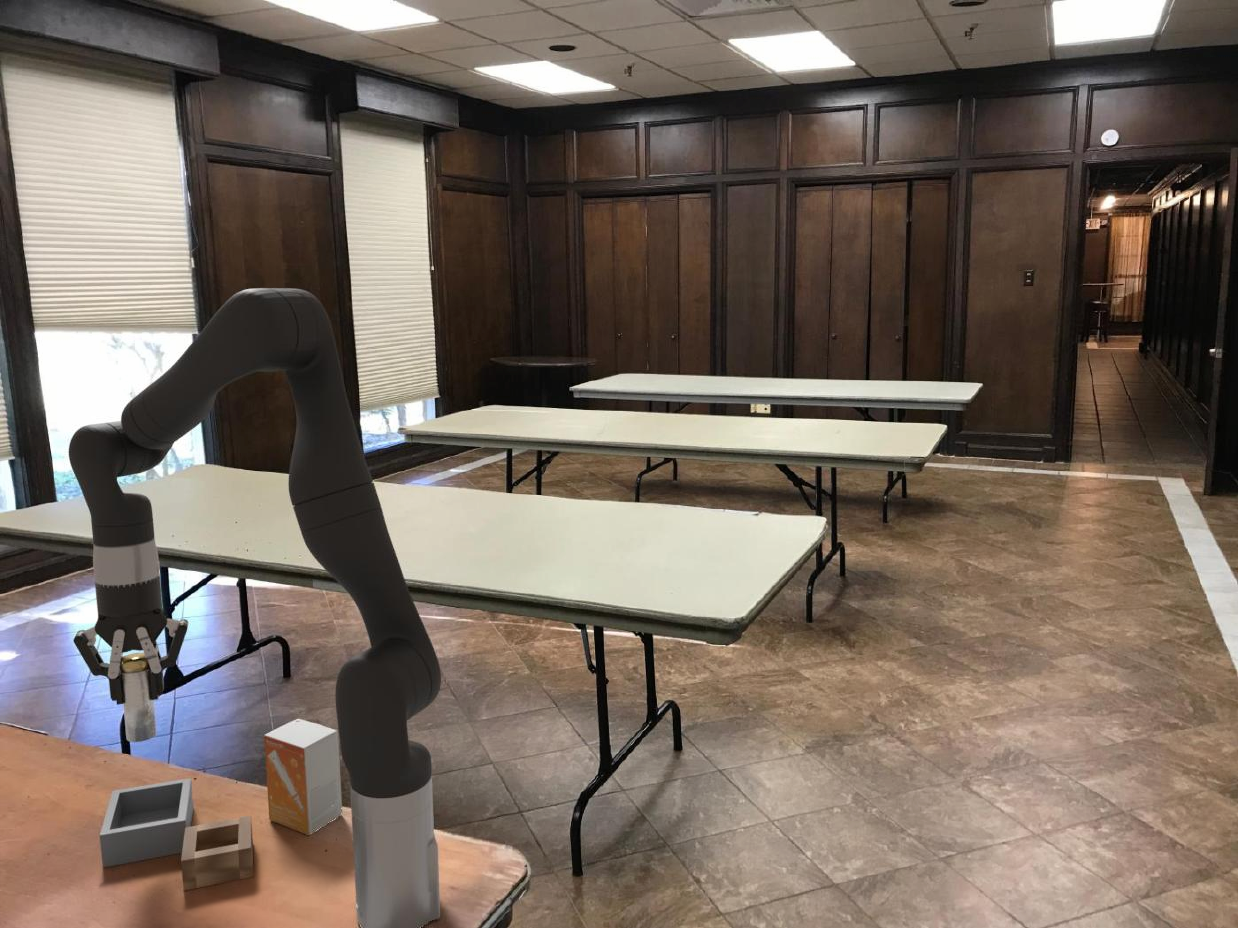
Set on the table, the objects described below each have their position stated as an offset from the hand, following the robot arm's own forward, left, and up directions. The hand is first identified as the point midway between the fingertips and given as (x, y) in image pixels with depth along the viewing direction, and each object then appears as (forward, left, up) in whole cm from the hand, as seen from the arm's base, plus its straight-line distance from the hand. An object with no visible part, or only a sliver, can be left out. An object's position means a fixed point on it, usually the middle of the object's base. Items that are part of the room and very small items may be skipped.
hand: (138, 699), depth 125 cm
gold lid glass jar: (0, 0, -5) cm, 5 cm away
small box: (-20, +3, -20) cm, 28 cm away
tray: (0, 0, -20) cm, 20 cm away
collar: (-9, +11, -20) cm, 24 cm away
